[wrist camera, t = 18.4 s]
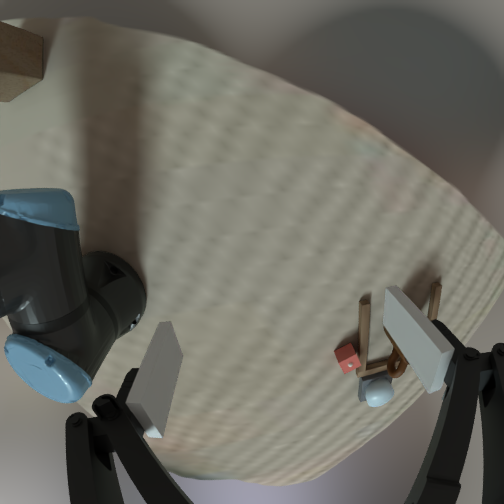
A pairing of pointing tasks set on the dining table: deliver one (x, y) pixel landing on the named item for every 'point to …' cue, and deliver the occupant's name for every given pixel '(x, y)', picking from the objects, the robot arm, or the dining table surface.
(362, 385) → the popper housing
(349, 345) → the die
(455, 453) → the robot arm
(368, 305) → the bay
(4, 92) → the wooden block
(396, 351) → the mug
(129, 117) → the dining table surface
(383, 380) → the dome
